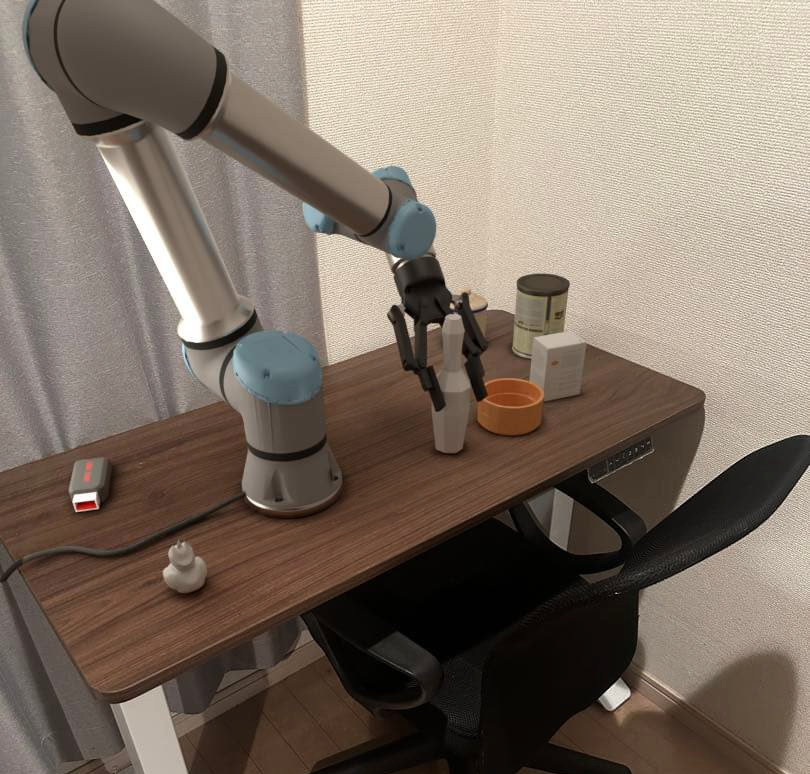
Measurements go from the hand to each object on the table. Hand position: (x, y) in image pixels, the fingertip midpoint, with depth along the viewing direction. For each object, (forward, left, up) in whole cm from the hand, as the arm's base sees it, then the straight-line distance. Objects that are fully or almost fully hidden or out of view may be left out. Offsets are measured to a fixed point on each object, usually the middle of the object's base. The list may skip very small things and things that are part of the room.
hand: (461, 403), depth 116 cm
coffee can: (+40, +23, -10) cm, 47 cm away
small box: (+29, +7, -10) cm, 31 cm away
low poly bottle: (+1, +3, -10) cm, 10 cm away
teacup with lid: (+30, +36, -10) cm, 48 cm away
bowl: (+15, +4, -10) cm, 18 cm away
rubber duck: (-48, -3, -10) cm, 49 cm away
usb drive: (-51, +27, -10) cm, 59 cm away
